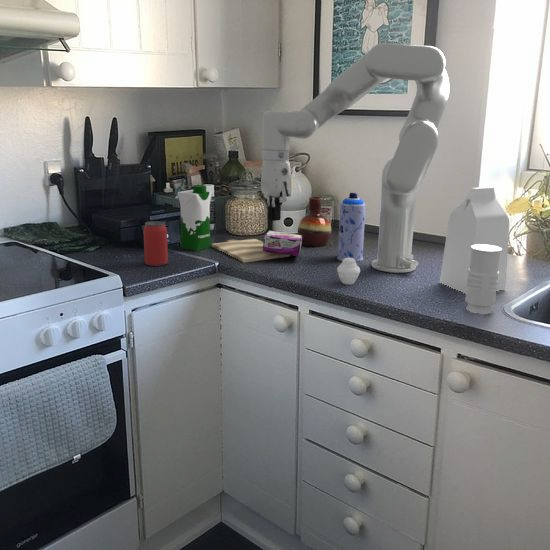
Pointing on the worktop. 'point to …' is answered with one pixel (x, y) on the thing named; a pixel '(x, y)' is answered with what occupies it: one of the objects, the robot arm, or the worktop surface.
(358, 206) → the aerosol can
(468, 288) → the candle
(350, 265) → the white rounded jar
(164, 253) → the beer can
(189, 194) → the milk carton
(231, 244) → the cutting board
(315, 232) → the vase
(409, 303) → the worktop surface
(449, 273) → the milk
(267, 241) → the candy bar box
